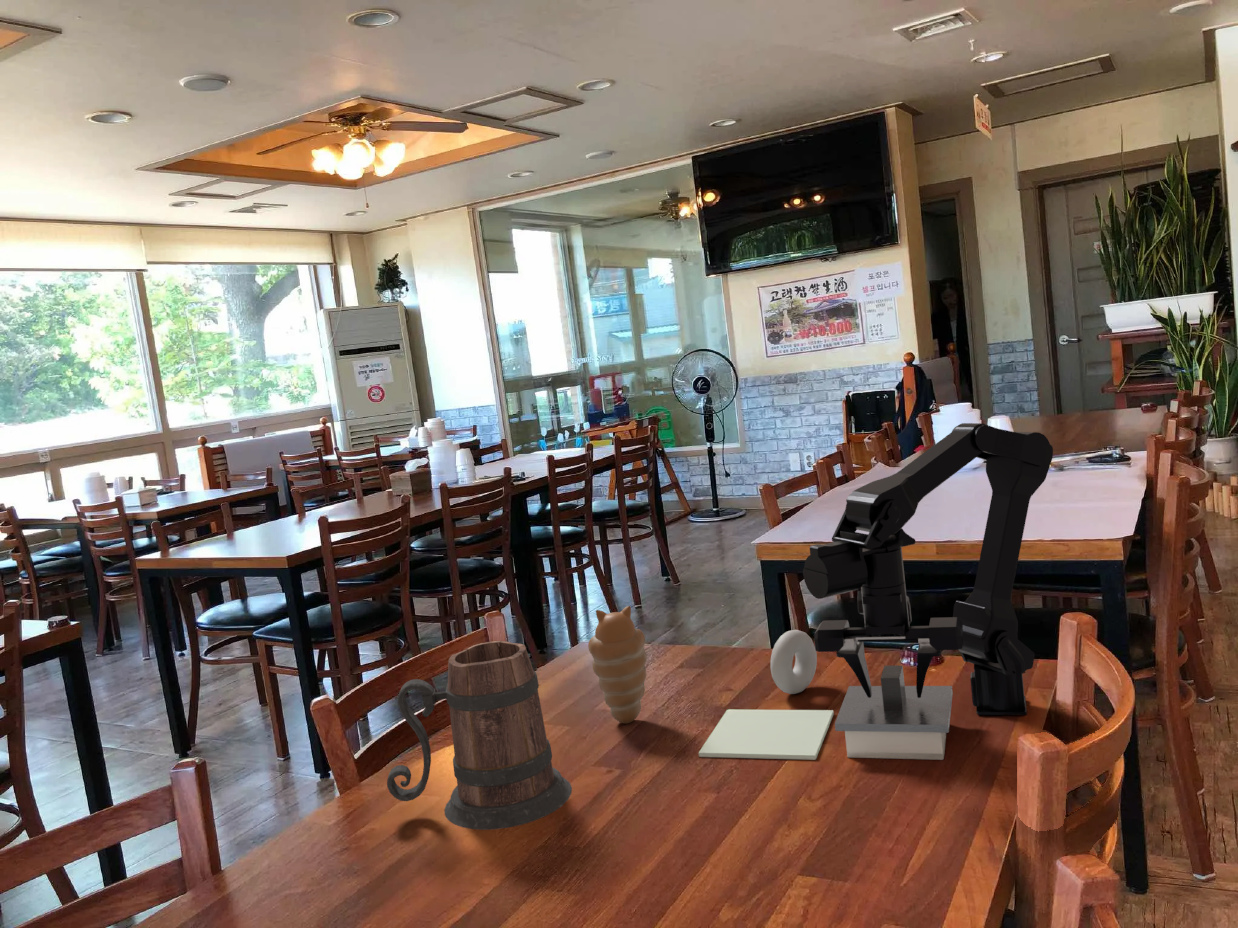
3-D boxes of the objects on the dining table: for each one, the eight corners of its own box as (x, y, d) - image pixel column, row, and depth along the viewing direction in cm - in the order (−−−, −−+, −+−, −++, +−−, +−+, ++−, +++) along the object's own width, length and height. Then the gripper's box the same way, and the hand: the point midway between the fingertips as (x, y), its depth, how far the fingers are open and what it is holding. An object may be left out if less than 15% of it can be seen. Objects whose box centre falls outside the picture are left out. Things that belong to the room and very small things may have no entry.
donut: (787, 704, 151) (780, 641, 150) (769, 701, 153) (762, 638, 152) (824, 683, 158) (817, 623, 157) (806, 680, 160) (799, 621, 159)
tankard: (568, 763, 140) (549, 625, 137) (576, 815, 123) (554, 660, 121) (400, 791, 137) (378, 652, 135) (385, 848, 121) (360, 690, 118)
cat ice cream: (653, 709, 156) (639, 598, 154) (657, 727, 148) (642, 611, 147) (598, 716, 156) (583, 606, 154) (598, 735, 148) (583, 618, 147)
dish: (947, 723, 136) (944, 695, 136) (943, 759, 125) (940, 729, 125) (858, 722, 141) (856, 695, 140) (847, 757, 129) (844, 727, 129)
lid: (952, 692, 136) (948, 654, 136) (948, 732, 123) (944, 690, 123) (849, 692, 141) (845, 655, 141) (835, 730, 128) (831, 690, 128)
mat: (833, 714, 145) (833, 710, 145) (815, 759, 130) (815, 755, 130) (727, 713, 151) (727, 709, 151) (699, 756, 136) (698, 752, 136)
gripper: (958, 565, 135) (969, 675, 136) (821, 571, 141) (833, 676, 143) (956, 586, 124) (967, 705, 126) (808, 591, 131) (820, 704, 133)
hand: (894, 696), depth 132 cm, fingers open, 6 cm apart
